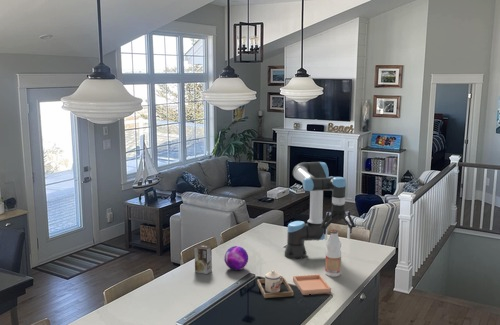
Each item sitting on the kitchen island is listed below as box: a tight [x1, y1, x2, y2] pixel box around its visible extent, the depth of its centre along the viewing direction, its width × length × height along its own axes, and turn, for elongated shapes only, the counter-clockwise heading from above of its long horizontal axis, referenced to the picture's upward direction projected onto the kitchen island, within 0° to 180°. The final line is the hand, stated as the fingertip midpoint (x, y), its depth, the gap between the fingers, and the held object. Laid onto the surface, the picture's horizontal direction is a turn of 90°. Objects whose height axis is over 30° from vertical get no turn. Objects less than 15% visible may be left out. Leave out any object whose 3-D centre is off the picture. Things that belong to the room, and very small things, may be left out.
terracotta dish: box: [292, 274, 332, 296], centre depth 293 cm, size 21×17×3 cm
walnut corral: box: [256, 277, 294, 299], centre depth 289 cm, size 21×17×2 cm
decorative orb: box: [224, 245, 249, 271], centre depth 318 cm, size 15×15×15 cm
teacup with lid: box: [264, 269, 284, 293], centre depth 288 cm, size 12×9×12 cm
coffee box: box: [193, 244, 213, 275], centre depth 314 cm, size 9×6×16 cm
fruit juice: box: [324, 229, 342, 277], centre depth 310 cm, size 9×9×28 cm
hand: (337, 239), depth 294 cm, fingers open, 13 cm apart
